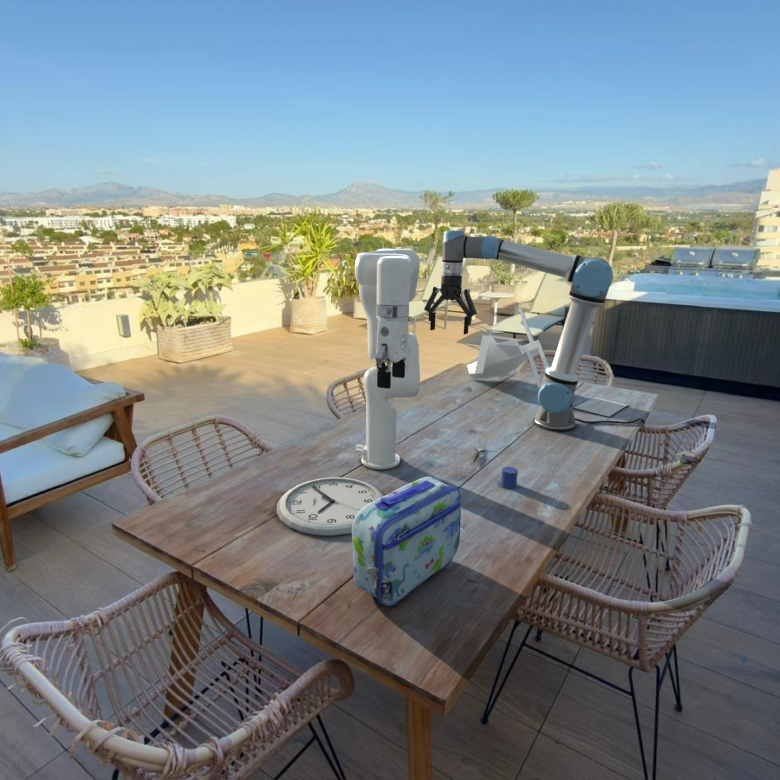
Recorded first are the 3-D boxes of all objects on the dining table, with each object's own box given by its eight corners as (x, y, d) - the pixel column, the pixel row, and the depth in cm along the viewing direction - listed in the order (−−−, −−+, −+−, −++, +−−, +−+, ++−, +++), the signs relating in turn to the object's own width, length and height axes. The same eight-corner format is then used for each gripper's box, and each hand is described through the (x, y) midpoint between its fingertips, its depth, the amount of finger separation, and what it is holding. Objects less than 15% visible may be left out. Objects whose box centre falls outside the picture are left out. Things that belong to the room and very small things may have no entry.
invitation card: (608, 416, 214) (573, 407, 224) (608, 416, 214) (573, 408, 224) (628, 404, 229) (594, 396, 238) (628, 405, 229) (594, 397, 238)
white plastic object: (488, 421, 262) (468, 398, 237) (469, 348, 284) (449, 320, 260) (560, 397, 250) (547, 371, 225) (534, 322, 272) (520, 291, 247)
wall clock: (392, 527, 129) (268, 531, 127) (391, 533, 130) (269, 537, 127) (383, 473, 158) (282, 475, 155) (383, 478, 158) (282, 480, 156)
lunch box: (381, 619, 101) (382, 525, 95) (345, 592, 109) (344, 503, 102) (464, 563, 119) (469, 480, 113) (428, 543, 126) (432, 464, 120)
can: (500, 487, 154) (502, 472, 153) (501, 480, 158) (502, 465, 157) (516, 489, 153) (517, 474, 152) (516, 482, 158) (517, 467, 156)
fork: (469, 463, 170) (469, 457, 169) (478, 444, 184) (479, 439, 183) (477, 464, 169) (477, 458, 168) (486, 446, 183) (486, 440, 182)
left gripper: (394, 318, 112) (393, 394, 117) (419, 307, 128) (417, 375, 133) (362, 315, 115) (362, 390, 120) (391, 305, 130) (389, 372, 135)
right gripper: (416, 273, 193) (414, 329, 200) (480, 277, 182) (476, 337, 188) (425, 271, 200) (423, 326, 206) (488, 275, 188) (483, 333, 194)
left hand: (391, 382), depth 126 cm, fingers open, 9 cm apart
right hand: (448, 331), depth 197 cm, fingers open, 13 cm apart
